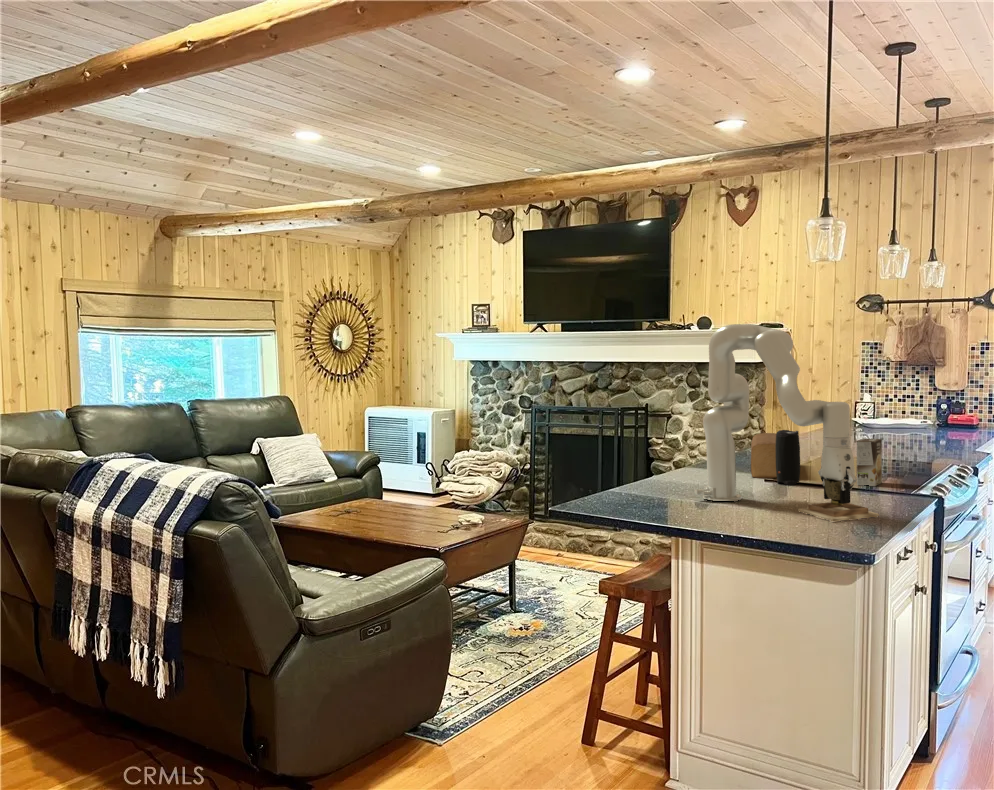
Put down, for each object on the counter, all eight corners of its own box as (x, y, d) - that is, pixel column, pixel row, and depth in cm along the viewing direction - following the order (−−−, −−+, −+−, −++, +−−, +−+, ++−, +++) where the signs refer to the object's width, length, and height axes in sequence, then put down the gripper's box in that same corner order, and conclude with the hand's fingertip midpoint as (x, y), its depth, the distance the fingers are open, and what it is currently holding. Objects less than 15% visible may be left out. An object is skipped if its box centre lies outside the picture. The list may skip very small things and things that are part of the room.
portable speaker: (781, 486, 295) (780, 432, 294) (772, 481, 304) (771, 430, 303) (805, 485, 295) (803, 431, 294) (794, 480, 305) (793, 429, 303)
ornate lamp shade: (834, 508, 242) (834, 481, 242) (818, 503, 249) (818, 477, 249) (856, 505, 244) (855, 479, 244) (839, 501, 251) (839, 475, 251)
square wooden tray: (833, 522, 237) (832, 513, 237) (798, 511, 252) (798, 504, 252) (878, 517, 241) (878, 508, 241) (842, 507, 257) (842, 499, 257)
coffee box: (875, 486, 287) (875, 441, 286) (856, 485, 291) (856, 440, 290) (882, 482, 294) (882, 438, 293) (863, 481, 298) (863, 437, 297)
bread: (750, 478, 314) (749, 442, 313) (751, 464, 347) (750, 431, 346) (788, 479, 310) (788, 442, 309) (786, 465, 342) (785, 431, 341)
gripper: (867, 445, 238) (867, 505, 239) (828, 438, 255) (828, 494, 256) (845, 446, 236) (846, 507, 237) (807, 440, 253) (808, 496, 254)
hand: (837, 500), depth 247 cm, fingers closed on ornate lamp shade, 6 cm apart
